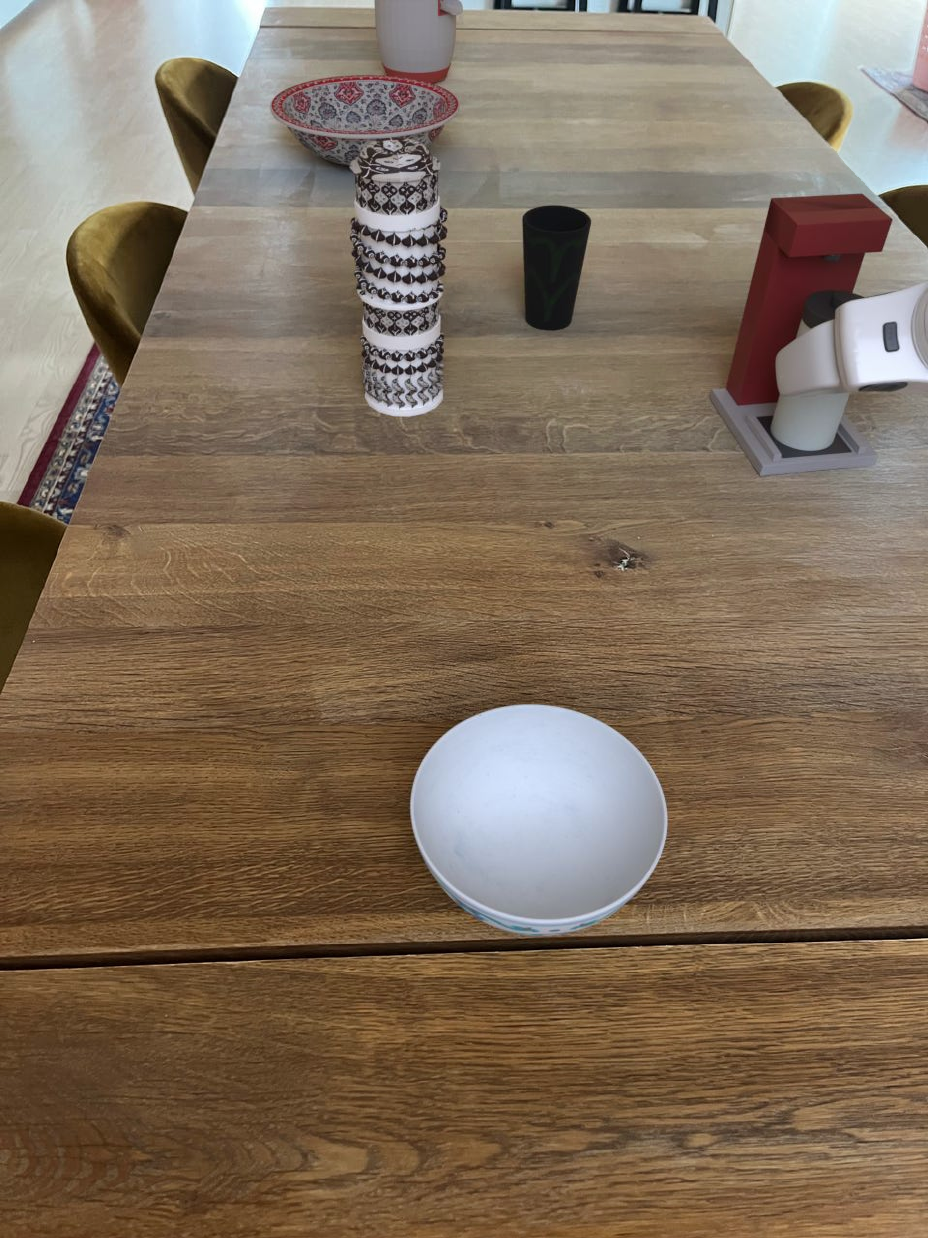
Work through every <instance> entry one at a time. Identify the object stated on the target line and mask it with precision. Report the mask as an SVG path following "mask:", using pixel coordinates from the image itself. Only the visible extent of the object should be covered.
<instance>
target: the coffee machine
mask: <svg viewBox="0 0 928 1238" xmlns="http://www.w3.org/2000/svg"><path fill="white" fill-rule="evenodd" d="M893 221H894V219H893V218H892V217H891V216H890V215H889V214H888V213H886V211H884V210H883V209H881V208H880V207H879V206H878V205H877V204H875V203H874V202H873V201H872V200H871V199H870V198H869V197H867V196H866V195H865V194H864V193H846V194H845V193H844V194H826V195H825V194H823V195H807V196H785V197H771V198H770V201H769V205H768V208H767V213H766V217H765V222H764V226H763V230H762V235H761V238H760V242H759V247H758V251H757V256H756V259H755V263H754V268H753V272H752V276H751V281H750V285H749V289H748V293H747V297H746V302H745V305H744V309H743V312H742V313H743V314H742V318H741V322H740V326H739V329H738V330H739V331H738V334H737V339H736V342H735V346H734V347H735V348H734V352H733V355H732V360H731V364H730V369H729V372H728V375H727V376H728V377H727V381H726V384H725V387H723V388H712V389H711V393H710V396H709V397H710V398H709V400H710V402H711V403H712V405H713V406H714V407H715V409H716V411H717V413H718V414H719V415H720V417H721V419H722V420H723V422H724V423H725V424H726V426H727V428H728V429H729V431H730V432H731V434H732V435H733V437H734V438H735V441H736V442H737V443H738V444H739V446H740V448H741V449H742V451H743V452H744V455H746V457H747V458H748V460H749V462H750V463H751V465H752V466H753V467H754V469H755V471H756V472H757V474H758V476H760V477H763V476H773V475H775V476H776V475H786V474H795V473H797V474H798V473H806V472H817V471H818V472H819V471H829V470H839V469H841V470H842V469H850V468H863V467H873V466H876V463H877V461H878V458H879V454H878V453H877V452H876V450H875V449H874V448H873V447H872V446H871V444H870V443H869V442H868V440H866V438H865V436H863V434H862V433H861V432H860V431H859V430H858V428H857V427H856V426H855V425H854V423H853V422H852V421H851V420H850V419H849V417H848V416H847V415H846V414H845V412H843V415H842V418H841V421H840V424H839V426H838V429H837V432H836V435H835V438H834V441H833V443H832V444H831V445H830V446H829V447H827V448H825V449H822V450H816V451H805V450H799V449H795V448H791V447H789V446H786V445H784V444H782V443H781V442H779V441H778V440H777V439H776V438H775V437H774V436H773V435H772V433H771V424H772V420H773V417H774V413H775V410H776V406H777V403H778V399H779V396H780V392H779V390H778V385H777V378H776V357H777V354H778V353H779V352H780V351H781V350H782V349H783V348H784V347H785V346H787V345H788V344H789V343H791V342H792V341H794V340H795V339H796V337H797V333H798V330H799V326H800V323H801V319H802V312H803V308H804V305H805V301H806V299H807V297H808V296H809V295H811V294H813V293H815V292H819V291H825V290H838V291H848V292H852V293H853V292H854V289H855V286H856V283H857V280H858V277H859V274H860V271H861V268H862V265H863V261H864V258H865V255H866V254H870V253H883V250H884V247H885V243H886V241H887V238H888V235H889V233H890V230H891V226H892V223H893Z"/></svg>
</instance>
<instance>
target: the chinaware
mask: <svg viewBox="0 0 928 1238" xmlns="http://www.w3.org/2000/svg"><path fill="white" fill-rule="evenodd" d="M415 773H416V774H415V776H414V779H413V782H412V786H411V792H410V798H409V799H410V801H409V813H410V823H411V828H412V832H413V836H414V839H415V843H416V845H417V847H418V850H419V853H420V855H421V857H422V859H423V861H424V863H425V865H426V867H427V869H428V870H429V872H430V874H431V875H432V877H433V878H434V879H435V881H436V882H437V884H438V885H439V886H440V888H441V889H442V890H443V891H444V892H445V894H446V895H447V896H448V897H449V898H450V899H451V900H452V901H453V902H455V903H456V904H457V906H458V907H460V908H462V909H463V910H464V911H466V912H467V913H468V914H470V915H471V916H473V917H474V918H476V919H478V920H479V921H481V922H483V923H484V924H487V925H489V926H491V927H493V928H496V929H499V930H501V931H505V932H508V933H512V934H517V935H521V936H528V937H529V936H531V937H552V936H561V935H566V934H570V933H574V932H578V931H581V930H583V929H587V928H589V927H591V926H592V927H593V926H594V925H596V924H598V923H600V922H602V921H604V920H605V919H607V918H609V917H610V916H612V915H613V914H615V913H616V912H618V911H619V910H620V909H621V908H622V907H624V906H625V905H626V904H627V903H628V902H629V901H631V899H633V897H634V896H635V895H636V894H637V893H638V892H639V891H640V890H641V889H642V887H643V886H644V885H645V884H646V882H647V881H648V880H649V878H650V877H651V875H652V874H653V872H654V870H655V869H656V867H657V865H658V862H659V861H660V859H661V856H662V854H663V850H664V848H665V844H666V840H667V835H668V809H667V802H666V797H665V794H664V790H663V788H662V785H661V782H660V780H659V778H658V776H657V774H656V773H655V771H654V769H653V767H652V766H651V763H650V762H649V761H648V760H647V758H646V757H645V756H644V755H643V754H642V752H641V751H640V750H639V749H638V748H637V747H636V746H635V745H634V744H633V743H632V742H631V741H630V740H629V739H628V738H626V737H625V736H624V735H622V733H620V732H619V731H617V730H616V729H614V727H613V728H612V727H611V726H610V725H608V724H607V723H605V722H603V721H601V720H599V719H597V718H594V717H593V716H590V715H588V714H586V713H582V712H579V711H576V710H574V709H570V708H566V707H561V706H555V705H548V704H538V703H537V704H534V703H531V704H530V703H529V704H528V703H525V704H523V703H521V704H512V705H505V706H501V707H496V708H492V709H488V710H485V711H482V712H480V713H476V714H474V715H472V716H470V717H468V718H466V719H464V720H462V721H461V722H459V723H457V724H456V725H455V726H453V727H451V728H450V729H448V731H447V732H445V733H444V734H443V735H442V736H441V737H440V738H438V739H437V741H436V742H435V743H434V744H433V745H432V746H431V748H429V750H428V752H427V753H426V754H425V755H424V757H423V758H422V761H421V763H420V765H419V766H418V769H417V771H416V772H415Z"/></svg>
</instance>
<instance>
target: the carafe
mask: <svg viewBox="0 0 928 1238" xmlns="http://www.w3.org/2000/svg"><path fill="white" fill-rule="evenodd" d="M864 297H865V296H863V295H860V294H857V293H852V292H848V291H838V290H825V291H819V292H815V293H813V294H811V295H809V296H808V297H807V299H806V301H805V305H804V308H803V312H802V319H801V323H800V326H799V330H798V333H797V337H796V338H798V337H799V336H801V335H802V334H804V333H805V332H807V331H808V330H810V329H812V328H814V327H815V326H817V325H820V324H822V323H824V322H827V321H830V320H833V319H835V310H836V309H837V308H838V307H839V306H841V305H842V304H844V303H846V302H848V301H851V300H856V299H861V298H864ZM850 395H851V392H850V393H837V394H824V395H817V396H811V397H789V398H788V397H784V396H782V395H781V394H780V396H779V399H778V403H777V406H776V410H775V413H774V417H773V420H772V424H771V433H772V435H773V436H774V437H775V438H776V439H777V440H778V441H779V442H781V443H782V444H784V445H786V446H789V447H791V448H795V449H799V450H805V451H816V450H822V449H825V448H827V447H829V446H830V445H831V444H832V443H833V441H834V438H835V435H836V432H837V429H838V426H839V424H840V421H841V418H842V415H843V413H845V410H846V406H847V404H848V400H849V397H850Z"/></svg>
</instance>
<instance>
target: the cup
mask: <svg viewBox="0 0 928 1238" xmlns="http://www.w3.org/2000/svg"><path fill="white" fill-rule="evenodd" d="M521 220H522V221H521V224H522V225H521V226H522V254H523V255H522V256H523V257H522V259H523V286H524V287H523V289H524V290H523V291H524V318H525V319H524V320H525V322H526V323H527V324H528V325H529V326H530V327H532V328H535V329H537V330H541V331H559V330H564V329H565V328H568V327H569V326H570V325H571V324H572V320H573V316H574V310H575V305H576V300H577V295H578V291H579V285H580V280H581V276H582V271H583V265H584V260H585V255H586V252H587V245H588V240H589V236H590V231H591V227H592V219H591V217H590V215H588V214H587V213H586V212H585V211H583V210H581V209H578V208H575V207H571V206H567V205H541V206H536V207H533V208H531V209H529V210H527V211H526V212H525V213H524V214H523V215H522V218H521Z"/></svg>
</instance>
